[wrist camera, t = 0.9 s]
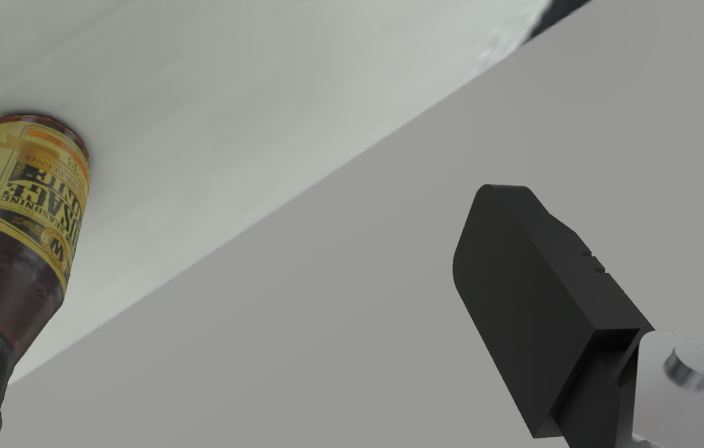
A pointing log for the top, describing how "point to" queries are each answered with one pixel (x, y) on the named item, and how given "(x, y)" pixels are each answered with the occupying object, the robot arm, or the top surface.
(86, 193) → the sauce bottle
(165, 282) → the top surface
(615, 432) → the robot arm
